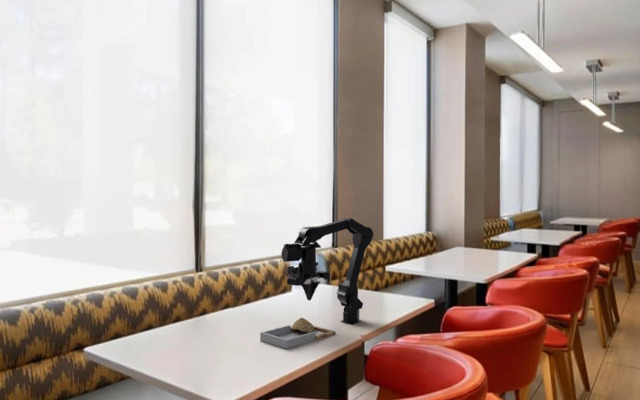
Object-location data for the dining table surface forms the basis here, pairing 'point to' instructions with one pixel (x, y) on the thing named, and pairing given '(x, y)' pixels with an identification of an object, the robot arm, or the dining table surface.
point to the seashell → (303, 325)
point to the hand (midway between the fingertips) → (309, 300)
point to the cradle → (326, 331)
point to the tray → (285, 337)
